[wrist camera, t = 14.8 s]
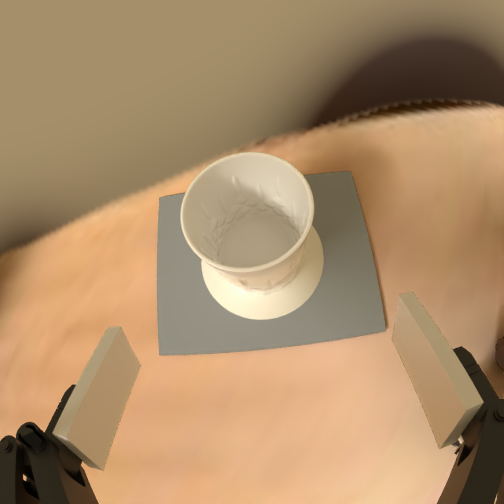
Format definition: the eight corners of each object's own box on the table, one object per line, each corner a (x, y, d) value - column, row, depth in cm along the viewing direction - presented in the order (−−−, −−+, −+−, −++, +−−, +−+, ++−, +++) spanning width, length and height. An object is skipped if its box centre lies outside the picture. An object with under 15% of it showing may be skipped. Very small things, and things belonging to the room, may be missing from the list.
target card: (161, 355, 25) (158, 355, 25) (160, 199, 30) (159, 197, 30) (384, 331, 23) (386, 330, 23) (349, 172, 29) (350, 170, 28)
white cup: (236, 208, 28) (212, 141, 19) (317, 232, 27) (328, 168, 17) (204, 285, 26) (159, 246, 17) (289, 315, 24) (289, 291, 15)
